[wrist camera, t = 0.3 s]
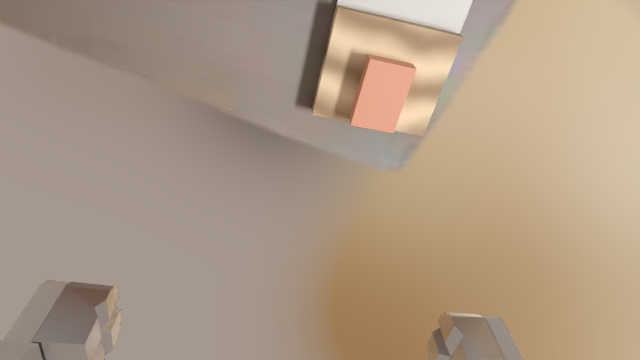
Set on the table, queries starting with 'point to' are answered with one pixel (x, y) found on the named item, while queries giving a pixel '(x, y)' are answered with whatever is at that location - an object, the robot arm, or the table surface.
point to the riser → (389, 42)
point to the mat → (418, 11)
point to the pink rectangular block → (381, 93)
